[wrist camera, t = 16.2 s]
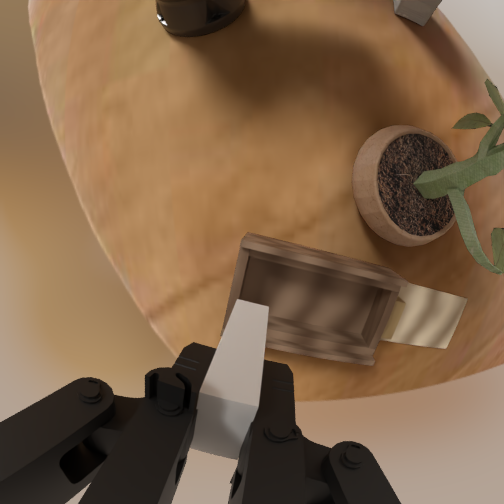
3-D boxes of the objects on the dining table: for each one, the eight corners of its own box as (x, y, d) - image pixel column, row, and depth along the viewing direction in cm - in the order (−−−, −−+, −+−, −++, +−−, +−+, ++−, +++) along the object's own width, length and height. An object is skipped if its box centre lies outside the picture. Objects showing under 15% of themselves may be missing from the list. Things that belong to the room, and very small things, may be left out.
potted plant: (399, 269, 37) (539, 376, 8) (322, 181, 36) (455, 140, 7) (475, 176, 32) (613, 179, 3) (411, 91, 31) (533, 7, 2)
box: (229, 314, 41) (220, 335, 34) (247, 232, 38) (241, 239, 31) (361, 342, 40) (373, 365, 33) (389, 268, 37) (408, 281, 30)
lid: (363, 335, 40) (371, 349, 36) (385, 276, 38) (397, 285, 33) (444, 347, 39) (455, 359, 35) (465, 297, 37) (479, 306, 32)
